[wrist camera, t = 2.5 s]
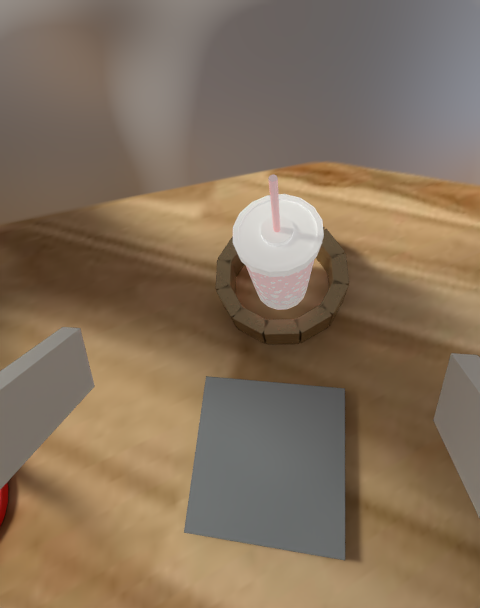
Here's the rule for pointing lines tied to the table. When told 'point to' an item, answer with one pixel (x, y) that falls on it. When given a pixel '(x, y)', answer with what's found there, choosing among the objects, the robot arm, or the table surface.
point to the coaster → (270, 466)
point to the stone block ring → (285, 329)
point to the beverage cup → (278, 245)
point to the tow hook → (3, 501)
